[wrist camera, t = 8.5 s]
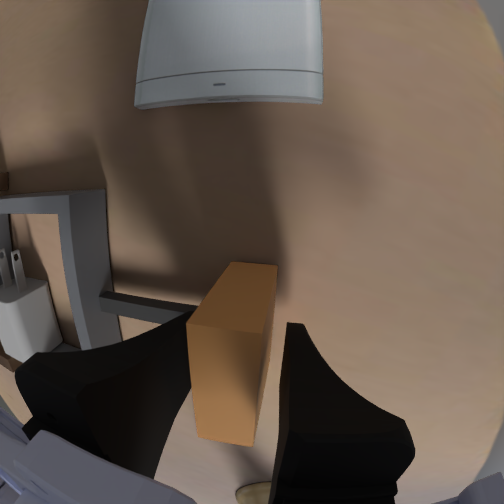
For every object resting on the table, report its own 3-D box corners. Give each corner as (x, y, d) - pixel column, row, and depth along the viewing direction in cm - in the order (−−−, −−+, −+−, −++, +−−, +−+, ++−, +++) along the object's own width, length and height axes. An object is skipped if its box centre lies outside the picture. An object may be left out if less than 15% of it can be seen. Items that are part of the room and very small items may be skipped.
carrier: (265, 401, 14) (249, 482, 9) (27, 335, 17) (-17, 367, 12) (282, 193, 11) (269, 210, 6) (1, 195, 14) (-58, 210, 9)
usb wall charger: (34, 327, 17) (1, 350, 13) (14, 241, 15) (-27, 256, 11) (66, 338, 17) (31, 367, 13) (44, 242, 15) (-2, 261, 11)
